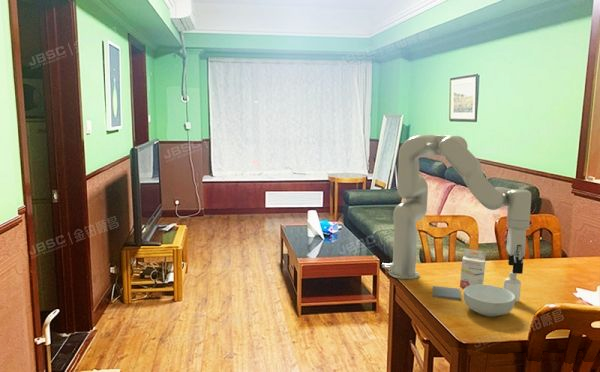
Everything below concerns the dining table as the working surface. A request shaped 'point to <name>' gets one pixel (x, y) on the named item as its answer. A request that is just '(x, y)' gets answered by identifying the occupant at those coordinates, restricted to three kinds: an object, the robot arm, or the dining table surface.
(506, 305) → the cereal bowl
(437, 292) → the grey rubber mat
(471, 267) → the ink cartridge box
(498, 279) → the dining table surface
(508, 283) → the eye dropper bottle
